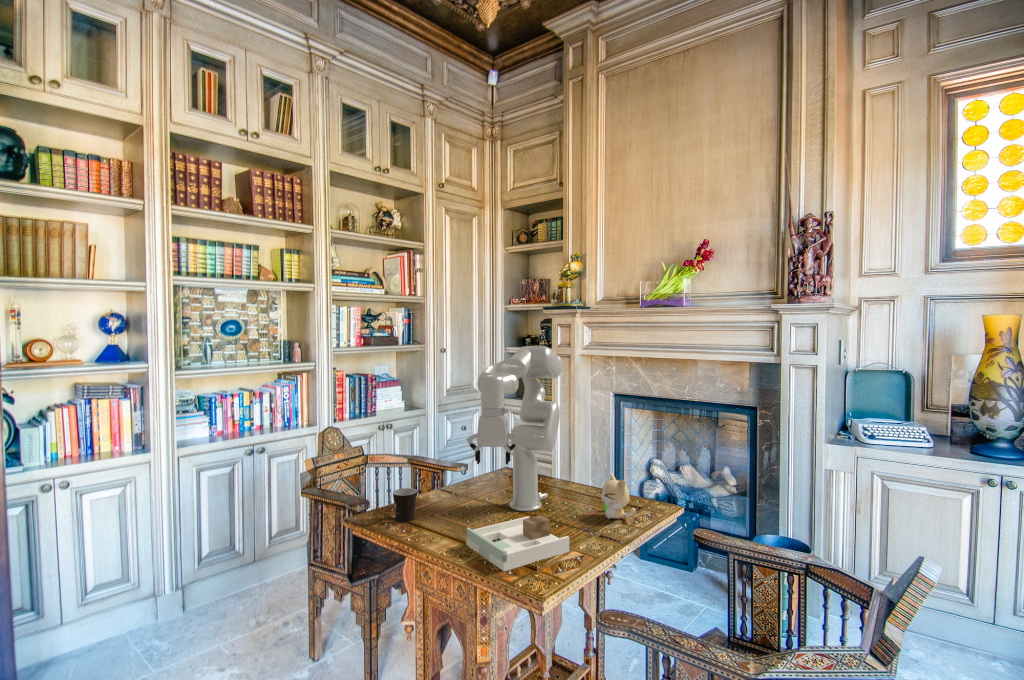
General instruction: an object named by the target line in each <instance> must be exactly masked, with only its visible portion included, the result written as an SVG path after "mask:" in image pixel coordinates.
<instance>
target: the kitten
mask: <svg viewBox="0 0 1024 680" xmlns="http://www.w3.org/2000/svg"><path fill="white" fill-rule="evenodd" d="M600 497H601V500H602V502H603V512H604V511H605V514H604V516H605V518H607V519H608V520H610V519H613V520H615V519H618V520H619V519H622V518H628V517H631V516H633V515H634V514H636V508H634V507H632V508H630V510H629V511H628V512H625V511H624V509H623V508H624V507H626V506H627V504H629V502H630V492H629V488H628V487H627V485H626V480H625V479H622V480H619V479H616V477H615V475H614V473H613V472H611V473H610V475H609V480H608V481H606V482H605V483H604V484H603V486H602V487H601V490H600Z"/></svg>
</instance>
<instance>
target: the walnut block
mask: <svg viewBox="0 0 1024 680" xmlns="http://www.w3.org/2000/svg"><path fill="white" fill-rule="evenodd" d="M550 523H551V519H549V518H547V517H545V516H543V515H536V516H532V517H530V518H527V519H523V535H524V536H526V537H527V538H529V539H531V540H535V539H538V538H542V537H545V536H549V535H550V534H551V533H550V532H551V525H550Z"/></svg>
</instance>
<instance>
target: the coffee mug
mask: <svg viewBox="0 0 1024 680" xmlns="http://www.w3.org/2000/svg"><path fill="white" fill-rule="evenodd" d="M417 495H418V490H417V489H415V488H412V487H411V488H410V487H409V488H408V487H404V488H398V489H395V490H393V491H392V499H393V505H394V506H393V507H394V512H395V513H394V515H395V521H396V522H398V523H409V522H412V521H414V520H413V519H415V511H416V502H417Z"/></svg>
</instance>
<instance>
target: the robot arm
mask: <svg viewBox="0 0 1024 680" xmlns="http://www.w3.org/2000/svg"><path fill="white" fill-rule="evenodd" d="M561 373H562V362H561V360H560V358H559V357H558V356H557V355H556V353H555V352H554V350H553V349H551V348H550V347H548V346H546V345H540V346H539V345H538V346H537V345H525V346H522V347H520V348H519V349H518V350H517V351H516V352H515V353H513V354H512V356H511V357H510V358H508V359H504V360H502V361H499V362H496V363H493V364H491V365H489V366H487V367H486V368H485V369H484V370H483V371H482V372H481V373H480V374H479V376H478V378H477V382H476V383H477V388H478V392H479V391H480V399H481V403H480V404H481V405H480V406H481V407H480V408H481V410H480V411H481V414H480V415H479V417H478V424H477V433H474V434H473V435H470V436H468V437H467V438H466V441H467V443H468V444H469V447H470V448H471V449H472V451H473V452H474V458H475V459H474V461H475V462H476V464H477V465H480V463H481V450H480V448H482V447H484V448H485V447H488V448H496V447H497V448H503V449H504V450H505V465H509V462H511V452H512V485H513V486H512V493H513V495H512V500H511V501H509V503H508V504H509V508H510V509H512V510H514V511H519V512H531V511H532V512H533V511H536V510H540V509H541V508H542V506H543V504H542V503H543V502H541V500H544V499H547V498H548V497H549V495H548V493H546V492H544V493H541V492H538V491H539V488H538V485H539V484H538V477H539V476H538V475H539V474H538V472H539V471H538V469H539V468H538V459H537V456H536V455H535V452H551V451H553V449H554V447H555V445H556V441H557V436H558V435H557V434H558V429H559V425H560V424H559V423H560V419H561V418H560V417H561V409H560V406H559V404H558V403H557V402H555V401H552V400H545V397H546V389H545V388H544V386H543V384H542V382H540V380H539V379H557V378H558V377H560V375H561ZM521 379H522V382H523V385H524V392H523V393H524V394H523V395H522V396H523V397H522V401H521V405H520V411H519V419H520V421H521V422H523V423H524V424H517V425H515V426H513V427H512V429H511V432H510V433H509V428H508V427H509V426H508V418H507V415H505V414H508V413H509V408H505V406H504V404H505V402H504V401H505V399H504V397H505V396H510V395H514V394H515V393H516V392H517V390H518V389H519V384H520V383H519V382H520V381H519V380H521ZM475 439H476V443H477V445H476V444H475V443H474V442H473V440H475ZM509 439H510V444H511V445H509V444H508V443H509ZM534 451H535V452H534Z"/></svg>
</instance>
